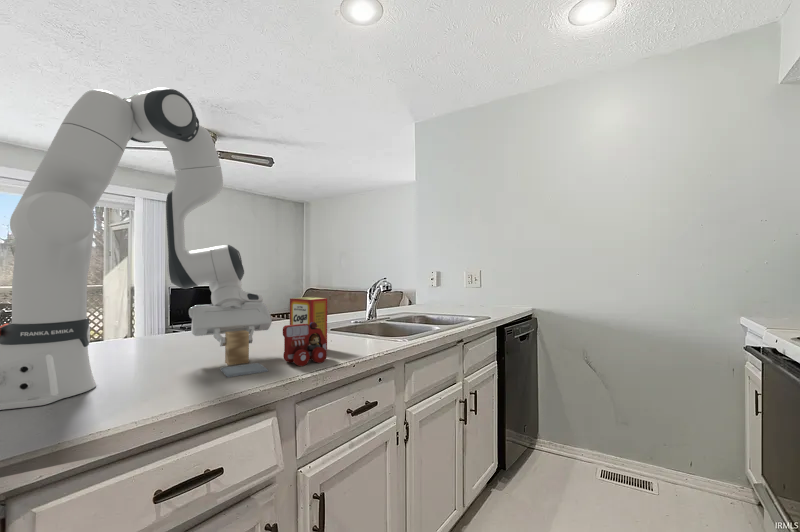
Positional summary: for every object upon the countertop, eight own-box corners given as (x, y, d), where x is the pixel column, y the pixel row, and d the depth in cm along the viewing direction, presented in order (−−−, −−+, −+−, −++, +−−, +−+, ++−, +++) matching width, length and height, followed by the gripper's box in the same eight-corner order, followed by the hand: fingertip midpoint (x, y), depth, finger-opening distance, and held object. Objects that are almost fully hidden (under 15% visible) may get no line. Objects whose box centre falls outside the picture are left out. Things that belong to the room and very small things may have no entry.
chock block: (228, 365, 99) (228, 333, 99) (225, 362, 102) (225, 331, 102) (248, 362, 102) (248, 332, 102) (245, 359, 105) (245, 330, 105)
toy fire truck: (333, 360, 104) (333, 322, 104) (290, 368, 95) (290, 326, 96) (319, 356, 109) (319, 319, 109) (277, 364, 100) (277, 323, 101)
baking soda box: (327, 349, 119) (327, 297, 120) (311, 352, 114) (311, 298, 114) (305, 345, 125) (305, 296, 125) (289, 349, 119) (289, 297, 119)
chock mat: (227, 377, 87) (227, 375, 87) (220, 369, 94) (220, 367, 94) (267, 371, 93) (267, 369, 93) (258, 364, 99) (258, 362, 99)
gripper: (189, 298, 103) (193, 340, 94) (267, 295, 114) (277, 332, 106) (186, 313, 106) (191, 355, 98) (263, 309, 118) (272, 346, 110)
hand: (236, 343), depth 102 cm, fingers closed on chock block, 5 cm apart
